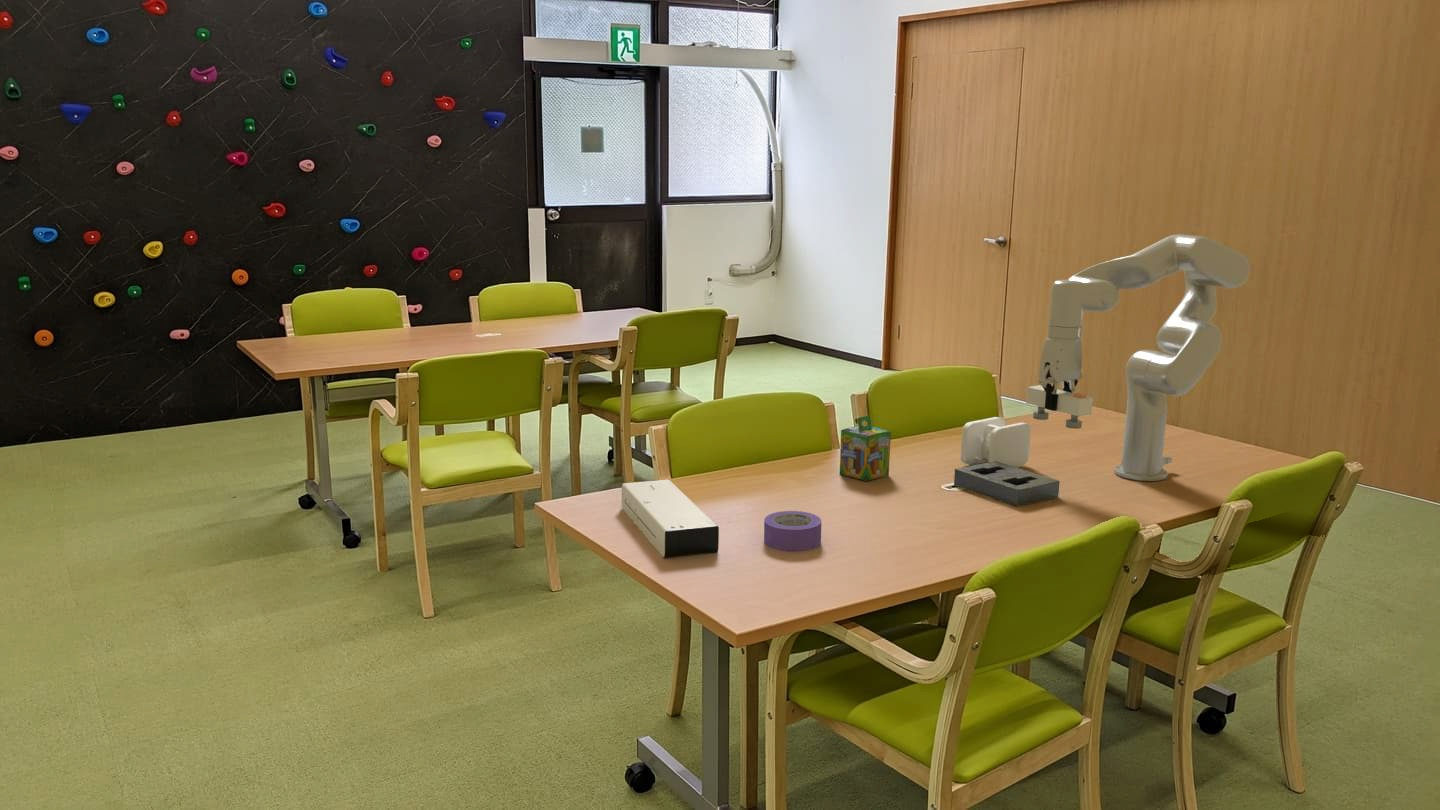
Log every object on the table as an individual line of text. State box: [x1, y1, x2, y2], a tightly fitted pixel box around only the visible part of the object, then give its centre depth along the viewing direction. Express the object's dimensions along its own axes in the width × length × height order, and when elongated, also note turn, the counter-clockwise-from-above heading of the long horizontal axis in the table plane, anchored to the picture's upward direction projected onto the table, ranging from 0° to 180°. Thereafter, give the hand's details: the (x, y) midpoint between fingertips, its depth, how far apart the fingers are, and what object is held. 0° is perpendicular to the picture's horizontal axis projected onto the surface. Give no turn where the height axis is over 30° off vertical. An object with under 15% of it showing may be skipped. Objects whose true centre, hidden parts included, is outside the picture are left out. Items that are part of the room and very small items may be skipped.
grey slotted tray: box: [953, 461, 1061, 508], centre depth 273 cm, size 14×20×4 cm
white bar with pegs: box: [1025, 384, 1094, 430], centre depth 274 cm, size 4×16×8 cm, turn 33°
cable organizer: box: [960, 416, 1032, 468], centre depth 293 cm, size 15×11×12 cm
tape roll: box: [763, 510, 822, 553], centre depth 236 cm, size 12×12×5 cm
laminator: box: [621, 479, 720, 559], centre depth 243 cm, size 34×12×6 cm, turn 19°
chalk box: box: [839, 414, 892, 482], centre depth 284 cm, size 9×9×15 cm
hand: (1058, 407), depth 274 cm, fingers closed on white bar with pegs, 4 cm apart
